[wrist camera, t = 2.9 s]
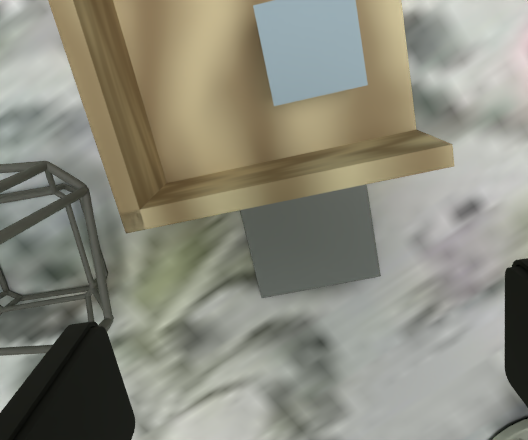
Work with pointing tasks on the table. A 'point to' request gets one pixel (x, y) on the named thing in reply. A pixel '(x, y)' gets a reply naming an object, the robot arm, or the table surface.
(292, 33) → the block
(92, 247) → the geometric lantern
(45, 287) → the table surface
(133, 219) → the box
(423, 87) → the table surface
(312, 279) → the coaster
